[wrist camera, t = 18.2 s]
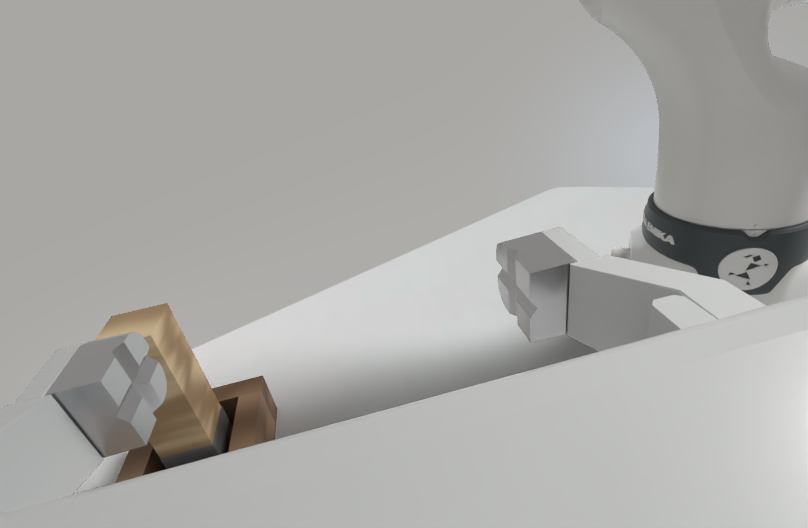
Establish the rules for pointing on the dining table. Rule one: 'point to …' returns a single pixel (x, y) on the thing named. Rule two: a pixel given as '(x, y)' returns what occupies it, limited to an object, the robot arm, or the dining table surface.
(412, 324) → the dining table surface
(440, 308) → the dining table surface
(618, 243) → the dining table surface
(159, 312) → the light wooden block
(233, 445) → the wooden square ring
